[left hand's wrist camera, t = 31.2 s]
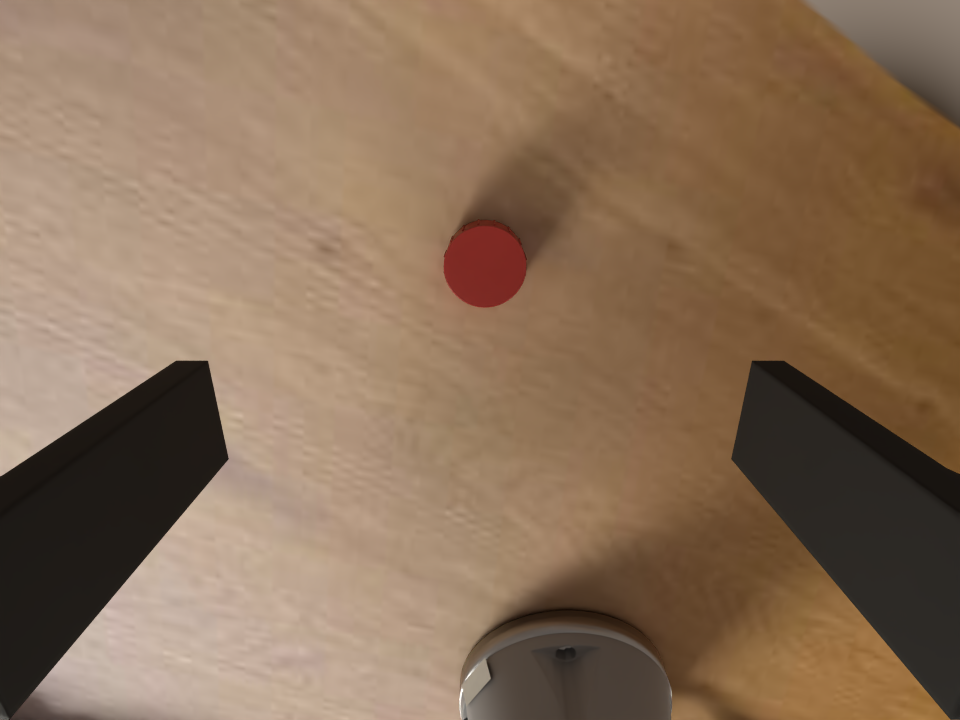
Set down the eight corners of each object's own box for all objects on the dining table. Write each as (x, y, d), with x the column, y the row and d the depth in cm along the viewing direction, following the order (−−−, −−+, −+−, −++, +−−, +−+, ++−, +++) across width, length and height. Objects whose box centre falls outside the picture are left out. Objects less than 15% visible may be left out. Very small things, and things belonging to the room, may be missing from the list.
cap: (540, 261, 26) (544, 269, 24) (483, 312, 27) (483, 324, 25) (486, 202, 25) (487, 206, 23) (429, 257, 26) (425, 266, 24)
